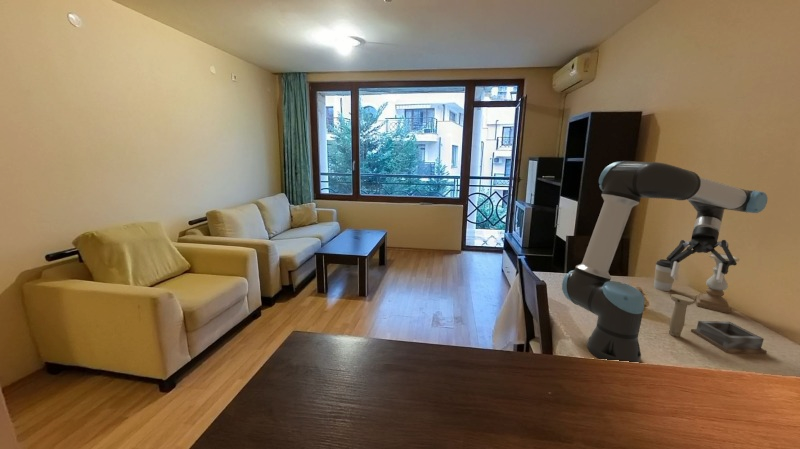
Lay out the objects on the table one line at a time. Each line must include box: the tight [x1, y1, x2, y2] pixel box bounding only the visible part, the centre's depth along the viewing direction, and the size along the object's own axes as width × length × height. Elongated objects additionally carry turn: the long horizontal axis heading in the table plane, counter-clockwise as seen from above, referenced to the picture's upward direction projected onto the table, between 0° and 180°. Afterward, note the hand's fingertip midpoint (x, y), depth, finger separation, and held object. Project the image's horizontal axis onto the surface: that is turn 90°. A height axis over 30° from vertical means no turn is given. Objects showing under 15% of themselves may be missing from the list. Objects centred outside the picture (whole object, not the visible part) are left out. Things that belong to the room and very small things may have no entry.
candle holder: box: [694, 252, 740, 314], centre depth 149 cm, size 11×11×24 cm
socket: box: [690, 320, 767, 354], centre depth 120 cm, size 14×14×5 cm
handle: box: [668, 293, 695, 338], centre depth 123 cm, size 5×6×15 cm
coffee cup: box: [653, 259, 675, 292], centre depth 169 cm, size 9×9×15 cm
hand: (694, 279), depth 123 cm, fingers open, 13 cm apart
